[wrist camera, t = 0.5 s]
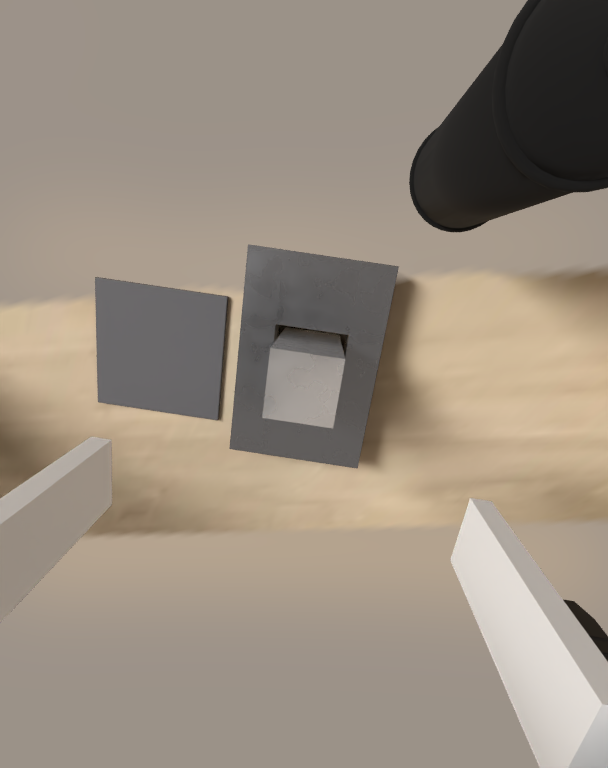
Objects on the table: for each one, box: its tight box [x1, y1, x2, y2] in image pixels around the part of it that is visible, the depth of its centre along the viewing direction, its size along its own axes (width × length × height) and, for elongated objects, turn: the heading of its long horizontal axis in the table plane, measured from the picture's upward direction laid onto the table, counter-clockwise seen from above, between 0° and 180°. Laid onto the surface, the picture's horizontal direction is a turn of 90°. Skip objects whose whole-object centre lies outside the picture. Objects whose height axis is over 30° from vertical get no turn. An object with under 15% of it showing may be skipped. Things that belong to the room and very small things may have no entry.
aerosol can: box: [409, 0, 608, 232], centre depth 20 cm, size 8×8×20 cm
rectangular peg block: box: [262, 327, 345, 428], centre depth 30 cm, size 5×5×10 cm
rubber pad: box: [95, 277, 228, 420], centre depth 35 cm, size 12×12×1 cm
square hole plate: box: [230, 245, 398, 468], centre depth 33 cm, size 12×18×3 cm, turn 172°
